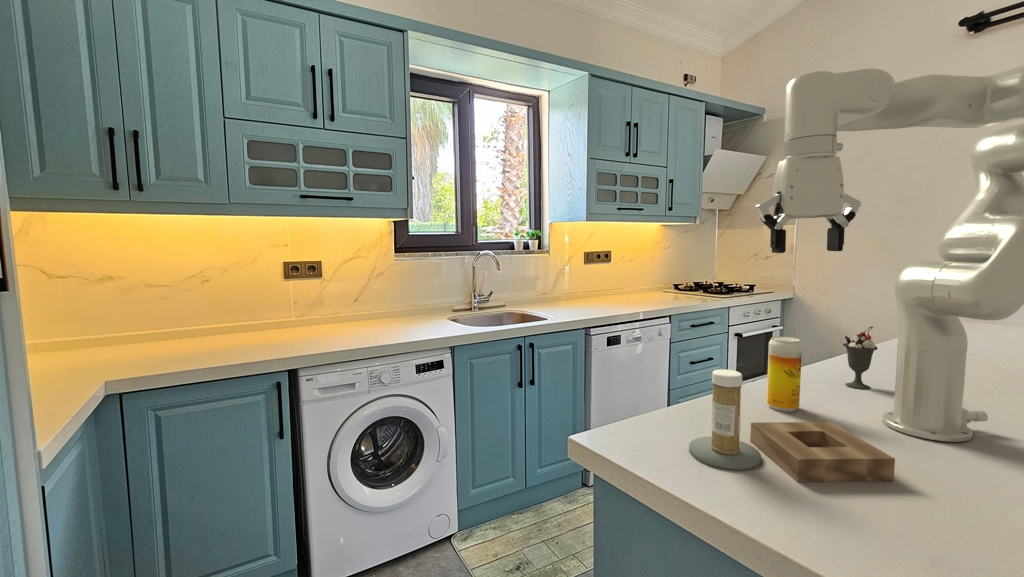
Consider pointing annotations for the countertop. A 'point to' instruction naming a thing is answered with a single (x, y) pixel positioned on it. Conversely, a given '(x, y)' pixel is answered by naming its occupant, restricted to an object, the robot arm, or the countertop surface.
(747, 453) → the slate coaster
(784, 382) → the beer can
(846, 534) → the countertop surface
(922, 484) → the countertop surface
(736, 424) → the sprinkles bottle
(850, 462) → the walnut pocket block
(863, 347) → the sundae
